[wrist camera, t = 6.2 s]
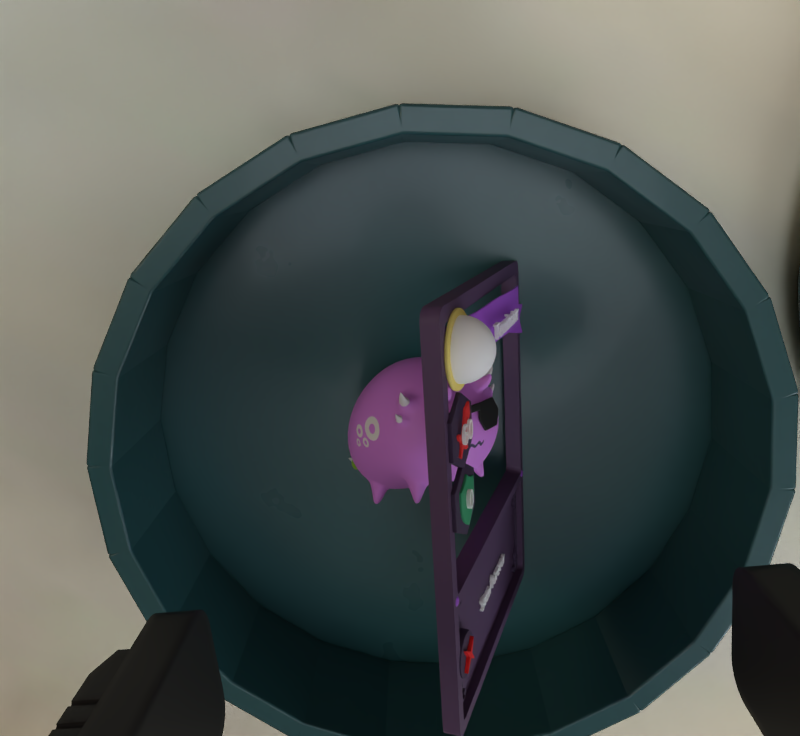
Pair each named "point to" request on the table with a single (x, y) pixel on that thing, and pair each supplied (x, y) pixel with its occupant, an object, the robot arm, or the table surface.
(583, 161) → the tin
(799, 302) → the tin lid
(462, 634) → the purple monster toy
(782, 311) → the table surface
